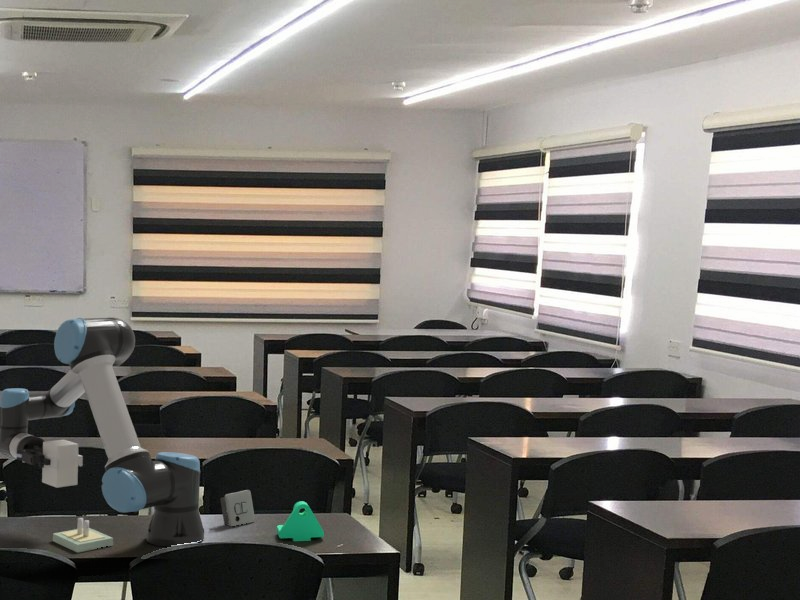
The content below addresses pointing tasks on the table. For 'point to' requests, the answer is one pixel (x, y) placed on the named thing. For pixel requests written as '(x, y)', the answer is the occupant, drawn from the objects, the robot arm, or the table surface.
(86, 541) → the board
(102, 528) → the table surface
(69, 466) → the block
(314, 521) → the camera mount
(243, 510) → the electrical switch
